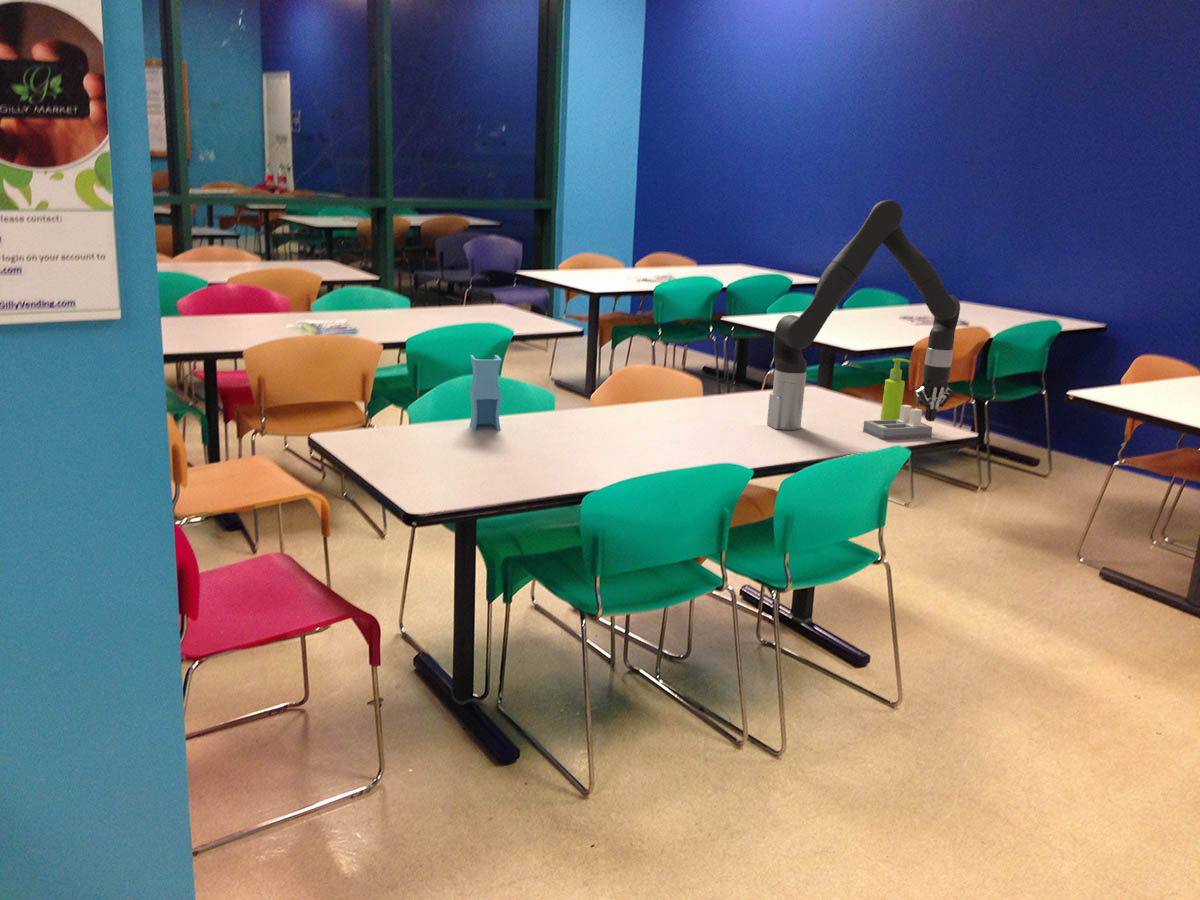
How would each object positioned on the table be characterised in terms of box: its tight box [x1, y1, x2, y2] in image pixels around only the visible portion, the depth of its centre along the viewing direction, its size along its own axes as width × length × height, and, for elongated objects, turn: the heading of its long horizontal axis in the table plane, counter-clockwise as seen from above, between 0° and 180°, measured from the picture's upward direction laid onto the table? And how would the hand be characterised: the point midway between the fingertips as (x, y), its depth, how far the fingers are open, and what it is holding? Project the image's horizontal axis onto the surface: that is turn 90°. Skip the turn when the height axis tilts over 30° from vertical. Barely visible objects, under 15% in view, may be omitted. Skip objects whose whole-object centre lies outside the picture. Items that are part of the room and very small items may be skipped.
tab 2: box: [905, 408, 923, 427], centre depth 305 cm, size 4×3×7 cm
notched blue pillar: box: [469, 354, 503, 432], centre depth 289 cm, size 8×8×20 cm
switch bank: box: [862, 419, 933, 441], centre depth 306 cm, size 17×10×3 cm, turn 110°
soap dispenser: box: [879, 358, 912, 420], centre depth 319 cm, size 6×7×20 cm
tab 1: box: [896, 404, 913, 423], centre depth 309 cm, size 4×3×7 cm
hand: (929, 420), depth 307 cm, fingers closed
